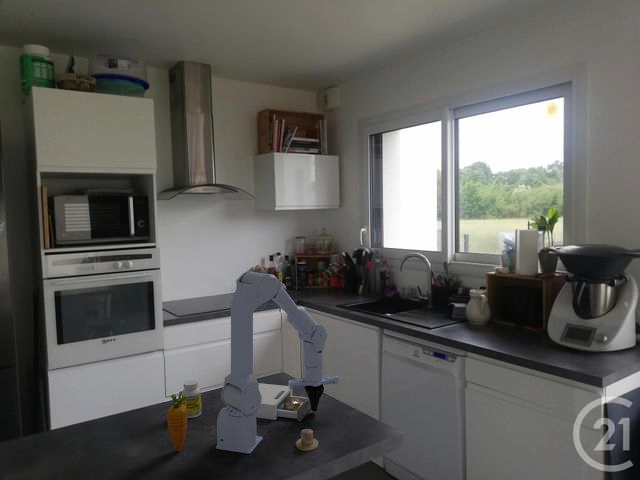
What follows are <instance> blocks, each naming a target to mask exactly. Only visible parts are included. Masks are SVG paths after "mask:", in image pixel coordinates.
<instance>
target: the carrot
mask: <svg viewBox="0 0 640 480" xmlns="http://www.w3.org/2000/svg"><path fill="white" fill-rule="evenodd" d="M182 391H183V390H182ZM182 391H181V390H180V391H179V393H178V396H177V395H176V394H175V393H173V394H171V395H170V398H171V399H172V404H173V405H171V406H170V407H169V408H168V409H167V411H166V418H167V427H168V428H167V429H168V433H169V436H170V437H169V438H170V440H171V442H172V444H173V446H174V448H175V450H176V451H178V452H180V451H181V450H182V448H183V447H184V443H185V441H186V438H187V432H188V426H189V425H188V422H189V421H188V419H189V418H188V411H187V408H186V406H184V405H182V401H183V400H184V399H185V398H187V397H186V396H184V397H182Z"/></svg>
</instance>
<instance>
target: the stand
mask: <svg viewBox="0 0 640 480" xmlns="http://www.w3.org/2000/svg"><path fill="white" fill-rule="evenodd" d="M295 446H296V448H297V449H298V450H299V451H303V452H309V451H315V450H316V449H318V447H319V441H318V440H317V439H316V438H314V431H313V430H312V429H311V428H305V429H302V430H301V431H300V438H299V439H297V440H296V441H295Z"/></svg>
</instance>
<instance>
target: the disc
mask: <svg viewBox="0 0 640 480" xmlns="http://www.w3.org/2000/svg"><path fill="white" fill-rule="evenodd" d="M283 405H284V409H285V410H289V411H294V410H298V409H299V408H300V400H299V399H296V398H290V399H286V400H284V402H283Z"/></svg>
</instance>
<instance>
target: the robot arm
mask: <svg viewBox="0 0 640 480" xmlns="http://www.w3.org/2000/svg"><path fill="white" fill-rule="evenodd" d="M235 281H236V282H235V286H236V288H235V292H234V295H233V297H232V299H231V302H230V373H229V374H227V375H226V376H225V377H224V378H223V381H224V383H223V387H222V389H221V394H220V397H221V401H222V402H223V404H225V407H223V408H221V409H220V410H219V413H218V415H217V418H216V419H217V420H216V439H217V440H216V443H217V445H216V446H215V449H217V450H223V451H229V452H237V453H243V454H251V453H253V451H254V450H255V449H256V447H257V446H258V445H259V444H260V443H261V442H262V441H263V439H264V438H263V436H259V435H257V417H256V412H257V410H258V408H259V407H260V404H261V400H262V396H261V393H260V391H259V382H258V380H257V378H256V376H255V374H254V363H253V362H254V311H255V310H257V308H258V307H261V306H262V305H263V304H265V303H267V302H269V300H272V301H273V303H275V304H276V305H277V306H278V307H279V308H280V309H281V310H282V311H284V313H286V318H287V321H288V323H289V324H290V325H291V326H292V327H293V328H294V329H295V331H296V332H297V334H298V338H299V340H301V341H302V354H303V356H302V357H303V360H302V361H303V377H299V378H294V379H290V380H289V379H288V382H287V383H288V384H287V386H288V387H289V389H292V390H293V389H297V388H304V390H305V393H306V394H307V397H309V400H310V404H311V408H310V410H311V411H312V412H317V411H318V406H319V404H320V403H319V402H320V400H321V397H322V395H323V393H324V392H325V387H324V386H325V385H339V376H338V375H324V350H325V343H326V341H327V338H328V332H327V330H326V328H325V327H324V325H322V324H319V323H317V319H316V318H315V317H312V315H311V314H310V313H309V312H308V311H309V309H308V307H305V306H302V305H297V304H296V303H295V302H294V300H293V299H292V297H291V296H290V295H289V293H288V292H287V291H286V289H285V288H284V286H282V285H283V283H282V281H280V280H279V279H278V277H276V275H274V274H272V273H261V272H257V271H256V272H255V271H252V270H246V271H245V272H243V273H242V274H241V275H240V276H239V277H237V279H236V280H235Z"/></svg>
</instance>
